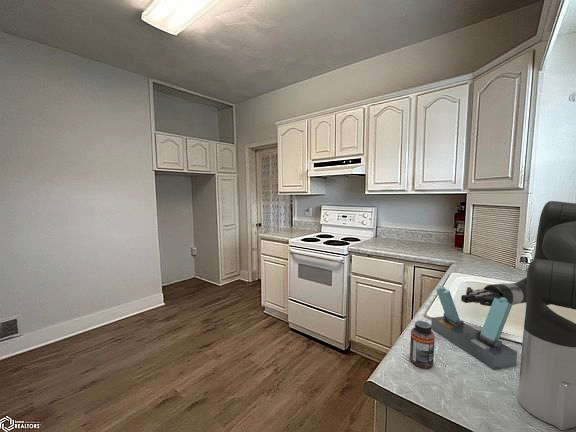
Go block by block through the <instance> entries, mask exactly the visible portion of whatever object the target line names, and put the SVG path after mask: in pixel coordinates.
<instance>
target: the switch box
mask: <svg viewBox="0 0 576 432" xmlns="http://www.w3.org/2000/svg"><path fill="white" fill-rule="evenodd" d="M430 325H431V330H432V329H433V331H434V332H436V333H437V334H439V335H441V337H443V338H445V339H446V340H448V341H449V342H451V343H452V344H454V345H455V346H457V347H459V349H461V350H463V351H465V352H466V353H468V354H469V355H470V356H472V357H473V358H474V359H477V360H478V361H480V362H481V363H482V364H484V365H485V366H487V367H489V368H490V369H492V370H498V369H505V368H509V367H515V366H517V358H518V351H517V350H515V349H513V348H511V347H509V346H507V345H506V344H504V343H503V341H501V340H498V341H495V344H494V346H493V345H492V344H490V343H488V342H486V341H484V340H483V339H481V338H480V337H479V335H480V333H481V331H482V329H481V330H479V329H476V328H474V327H472V326H471V325H468V324H466V323H465V322H464V320H461V319H460V321H458V324H457V325H456V324H455V323H453V322H451V321H449V320H448V319H446V315H445V312H443V316H434V317H431V323H430Z"/></svg>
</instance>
